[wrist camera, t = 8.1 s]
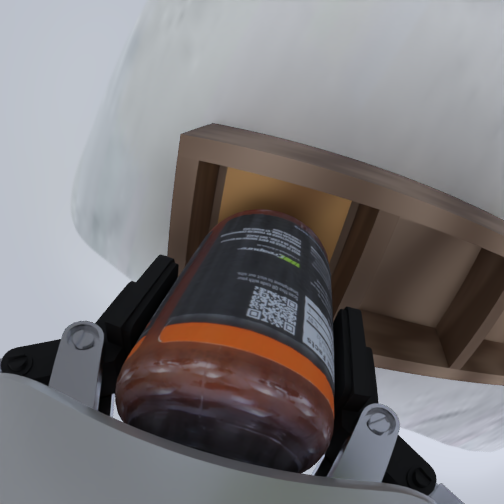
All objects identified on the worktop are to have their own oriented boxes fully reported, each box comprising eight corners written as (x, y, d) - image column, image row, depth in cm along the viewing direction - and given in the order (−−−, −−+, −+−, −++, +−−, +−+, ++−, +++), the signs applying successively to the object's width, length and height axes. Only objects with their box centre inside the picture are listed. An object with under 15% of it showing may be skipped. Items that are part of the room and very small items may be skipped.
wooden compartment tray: (566, 255, 15) (595, 287, 11) (504, 352, 20) (521, 390, 16) (212, 123, 17) (180, 134, 13) (190, 274, 22) (164, 315, 18)
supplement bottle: (217, 316, 17) (132, 518, 7) (190, 210, 14) (12, 424, 4) (332, 314, 15) (320, 553, 5) (328, 198, 13) (334, 510, 3)
